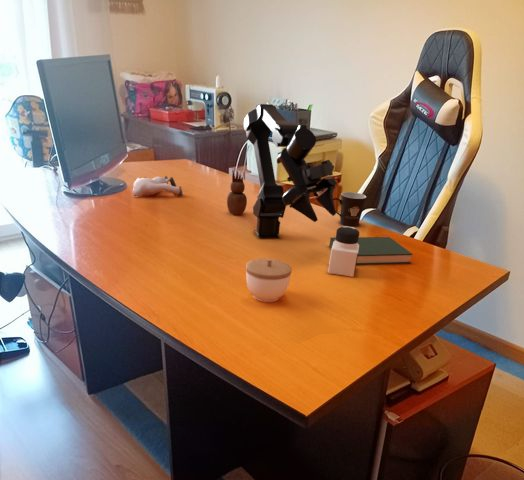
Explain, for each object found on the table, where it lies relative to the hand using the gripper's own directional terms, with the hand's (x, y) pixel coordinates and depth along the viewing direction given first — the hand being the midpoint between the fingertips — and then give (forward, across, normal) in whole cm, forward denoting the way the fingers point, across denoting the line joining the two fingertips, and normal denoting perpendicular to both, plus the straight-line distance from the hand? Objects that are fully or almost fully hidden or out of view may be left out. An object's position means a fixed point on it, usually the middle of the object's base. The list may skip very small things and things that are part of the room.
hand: (325, 217), depth 141 cm
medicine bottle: (+15, 0, +4) cm, 15 cm away
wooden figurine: (-24, +17, +42) cm, 51 cm away
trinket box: (+12, -29, +7) cm, 32 cm away
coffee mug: (-2, +40, +20) cm, 45 cm away
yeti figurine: (-50, +12, +69) cm, 86 cm away
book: (+14, +18, +5) cm, 23 cm away
